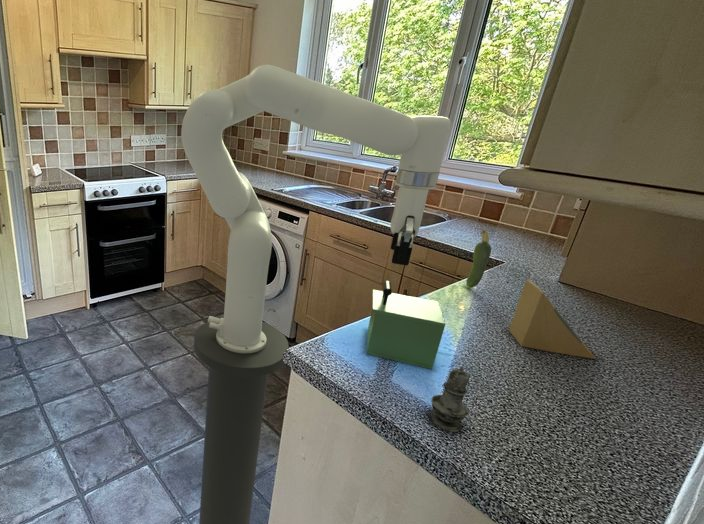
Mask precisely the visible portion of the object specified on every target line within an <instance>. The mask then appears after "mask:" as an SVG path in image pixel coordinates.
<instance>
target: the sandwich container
mask: <svg viewBox="0 0 704 524" xmlns="http://www.w3.org/2000/svg"><path fill="white" fill-rule="evenodd" d="M508 331H509V333H510V334H511V335H512V337H513V338H514V339H515V340H516V341H517V342H518V344H519V345H520V346H521V347H524V348H528V349H533V350H534V349H535V350H538V351H539V350H540V351H546V352H550V353H557V354H562V355H568V356H575V357H580V358H587V359H591V360H592V359H593V360H597V358H596V357H595V355H594V354H593V353H592V352H591V351H590V350H589V348H588V347H587V345H585V343H584V342H583V341H582V339H581V338H580V337H579V335H577V333H576V332H575V331H574V329H572V327H571V326H570V324H569V323H568V322H567V320H565V318H564V317H563V316H562V315H561V313H560V312H559V311H558V310H557V308H556V307H555V306H554V304H553V303H552V302H551V300H550V299H549V298H548V297H547V295H546V294H545V293H544V292H543V290H541V288H540V287H539V286H538V285H537V284H535V283H534V282H532V281H531V280H530V279H526V280H525V283H524V286H523V289H522V291H521V295H520V298H519V300H518V304H517V306H516V309H515V312H514V315H513V317H512V320H511V323H510V326H509V329H508Z"/></svg>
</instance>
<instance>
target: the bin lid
mask: <svg viewBox="0 0 704 524" xmlns="http://www.w3.org/2000/svg"><path fill="white" fill-rule="evenodd" d="M371 293H372V294H371V312H374V313H379V314H384V315H389V316H394V317H399V318H404V319H409V320H414V321H419V322H423V323H428V324H433V325H438V326H443V327H444V328H445V327H446V321H445V318H444V315H443V312H442V309H441V306H440V303H439V301H438V300H432V299H427V298H421V297H416V296H411V295H406V294H399V293H395V292H393V290H392V282H391V281H390V280H384V281H383V282H382V290H378V289H372V292H371Z"/></svg>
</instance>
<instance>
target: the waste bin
mask: <svg viewBox="0 0 704 524" xmlns="http://www.w3.org/2000/svg"><path fill="white" fill-rule="evenodd" d="M444 331H445V327H443V326H438V325H433V324H428V323H423V322H419V321H414V320H409V319H404V318H399V317H394V316H389V315H384V314H379V313H374V312H372V311H371V312H370V317H369V321H368V326H367V332H366V333H367V335H366V355H370V356H374V357H377V358H383V359H386V360H390V361H395V362H399V363H404V364H407V365H412V366H416V367H420V368H425V369H428V370H433V368H434V365H435V362H436V358H437V355H438V351H439V347H440V344H441V341H442V337H443V334H444Z"/></svg>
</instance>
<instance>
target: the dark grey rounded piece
mask: <svg viewBox="0 0 704 524" xmlns="http://www.w3.org/2000/svg"><path fill="white" fill-rule="evenodd" d="M469 380H470V375H469V374H468V373H467V372H466V371H465V369H464V367H463V366H460V367H459V369H458V368H454V369H452V370H451V371H450V372H449V375H448V378H447V381H446V382H444V383H443V388H444V389H443V392H442V394H436V395H433V396H432V397H431V399H430V400H431V401H430V402H431V407H432V410H431V411H430V412H429V413H428V419H429V420H430V422H431V423H432V424H433V425H434V426H436V427H437V428H439V429H441V430H443V431H446V432H451V433H457V432H460V431H461V429H462V424H461V421H463V420H464V419H465V418H466V417H468V415H469V409H468V407H467V406H466V405H465V404H464V403H463V399H464V397H465V395H467V394H468V390H467V386H468V383H469Z"/></svg>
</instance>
